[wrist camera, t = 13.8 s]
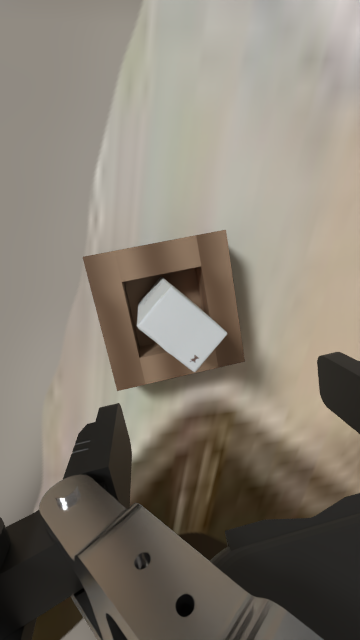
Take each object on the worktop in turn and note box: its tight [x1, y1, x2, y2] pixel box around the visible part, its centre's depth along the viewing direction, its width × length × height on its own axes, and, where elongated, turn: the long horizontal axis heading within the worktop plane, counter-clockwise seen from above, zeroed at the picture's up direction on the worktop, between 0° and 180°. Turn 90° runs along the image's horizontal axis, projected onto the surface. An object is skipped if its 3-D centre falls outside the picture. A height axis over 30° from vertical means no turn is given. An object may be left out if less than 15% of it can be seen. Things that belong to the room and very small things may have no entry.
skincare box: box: [137, 277, 227, 372], centre depth 28 cm, size 6×4×12 cm
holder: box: [83, 230, 245, 391], centre depth 33 cm, size 14×14×5 cm
